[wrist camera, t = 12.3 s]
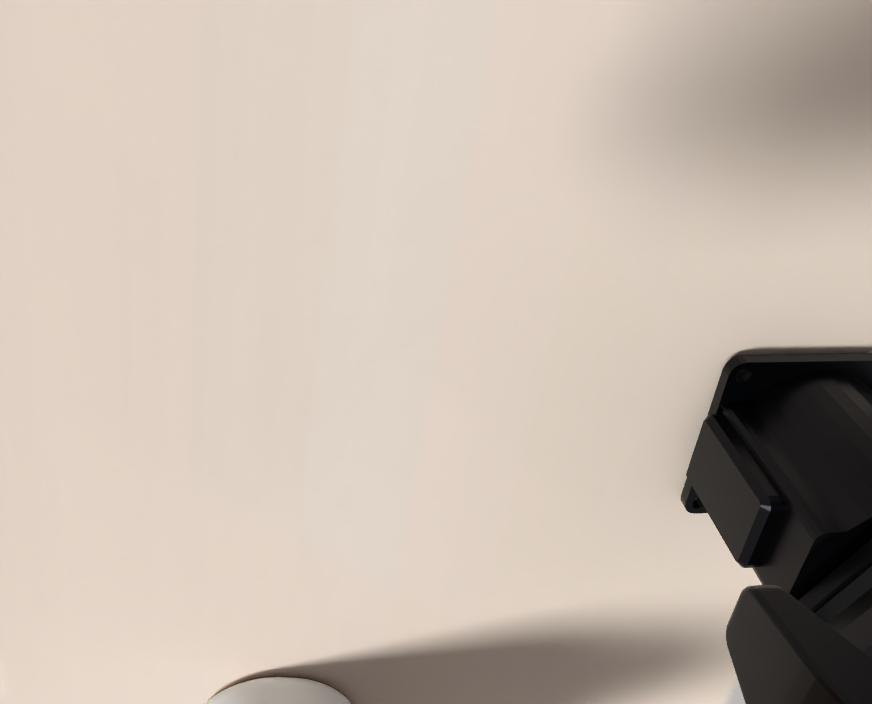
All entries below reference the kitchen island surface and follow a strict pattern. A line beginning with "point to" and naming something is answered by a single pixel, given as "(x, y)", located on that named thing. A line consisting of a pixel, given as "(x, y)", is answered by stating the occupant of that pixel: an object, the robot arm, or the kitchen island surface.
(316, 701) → the bath foam
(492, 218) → the kitchen island surface
